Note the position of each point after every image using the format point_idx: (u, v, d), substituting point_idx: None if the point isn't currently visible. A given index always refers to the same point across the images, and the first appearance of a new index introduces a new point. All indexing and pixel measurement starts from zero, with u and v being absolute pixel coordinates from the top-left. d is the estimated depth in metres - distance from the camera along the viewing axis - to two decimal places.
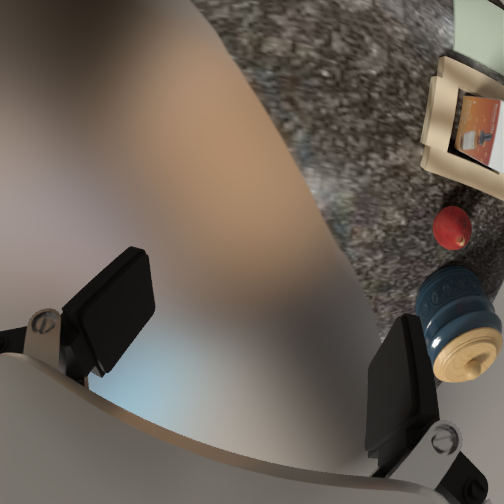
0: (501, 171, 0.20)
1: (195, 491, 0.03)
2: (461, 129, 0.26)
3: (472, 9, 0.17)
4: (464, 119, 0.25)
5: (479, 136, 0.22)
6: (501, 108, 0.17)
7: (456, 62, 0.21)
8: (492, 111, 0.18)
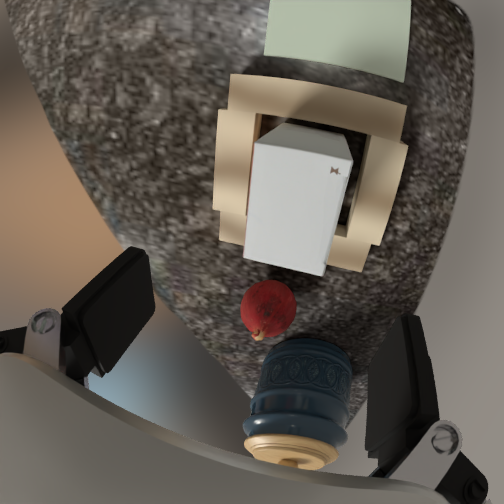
0: (273, 263, 0.19)
1: (195, 491, 0.03)
2: None
3: None
4: None
5: None
6: (254, 158, 0.15)
7: (251, 77, 0.20)
8: None
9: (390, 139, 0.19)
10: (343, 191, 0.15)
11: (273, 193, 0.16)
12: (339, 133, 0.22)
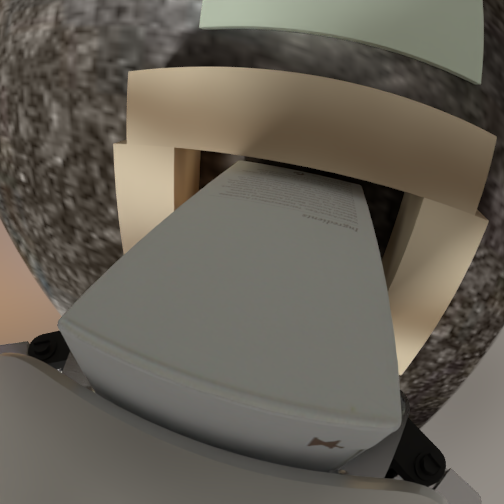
0: None
1: (195, 491, 0.03)
2: None
3: None
4: None
5: None
6: (77, 360, 0.04)
7: (162, 73, 0.09)
8: None
9: (459, 207, 0.08)
10: (344, 461, 0.04)
11: None
12: (352, 183, 0.11)
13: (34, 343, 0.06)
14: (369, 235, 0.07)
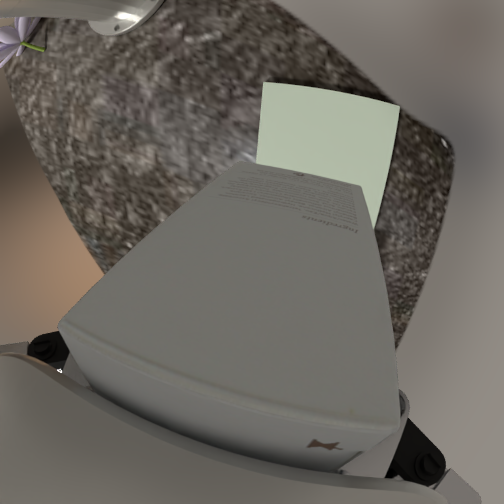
0: None
1: (195, 491, 0.03)
2: None
3: (292, 121, 0.23)
4: None
5: None
6: (77, 362, 0.04)
7: None
8: None
9: None
10: (343, 463, 0.04)
11: None
12: (352, 184, 0.11)
13: (34, 343, 0.06)
14: (369, 236, 0.07)
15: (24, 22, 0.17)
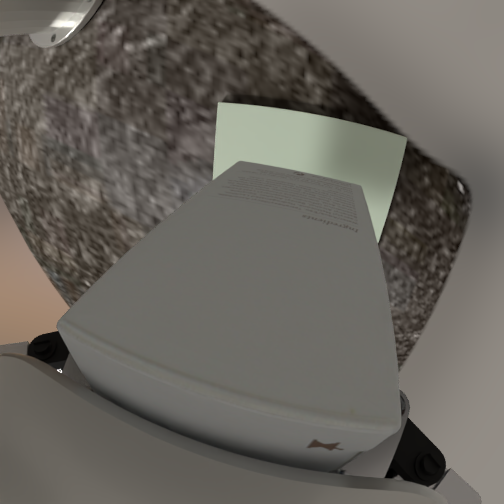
0: None
1: (195, 491, 0.03)
2: None
3: (256, 157, 0.18)
4: None
5: None
6: (76, 361, 0.04)
7: None
8: None
9: None
10: (344, 463, 0.04)
11: None
12: (352, 183, 0.11)
13: (34, 343, 0.06)
14: (369, 236, 0.07)
15: None
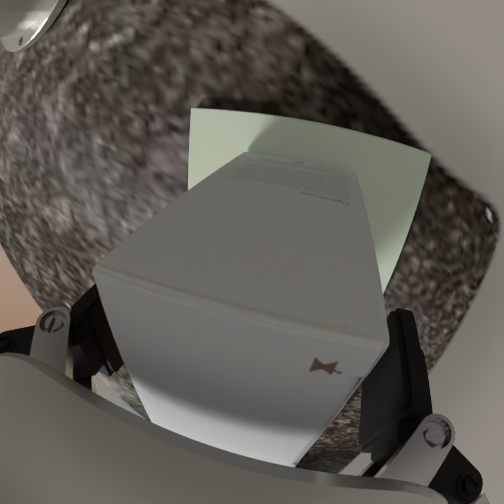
0: None
1: (195, 491, 0.03)
2: None
3: None
4: None
5: None
6: (105, 307, 0.05)
7: None
8: None
9: None
10: (344, 399, 0.05)
11: (168, 380, 0.06)
12: (347, 170, 0.12)
13: None
14: (360, 208, 0.08)
15: None
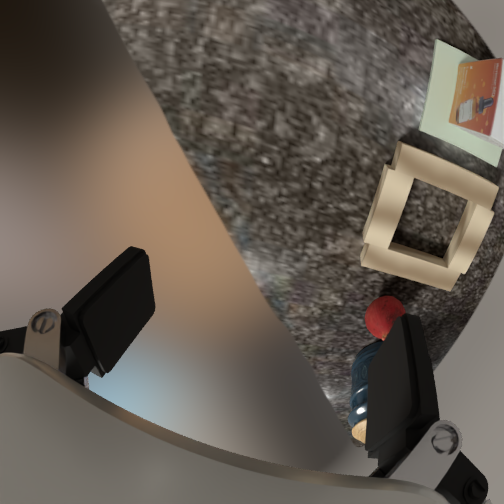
0: None
1: (195, 491, 0.03)
2: (456, 100, 0.21)
3: (455, 73, 0.20)
4: (460, 88, 0.20)
5: (478, 103, 0.17)
6: (503, 67, 0.12)
7: (416, 150, 0.25)
8: (492, 72, 0.13)
9: (486, 207, 0.25)
10: None
11: None
12: None
13: None
14: None
15: None
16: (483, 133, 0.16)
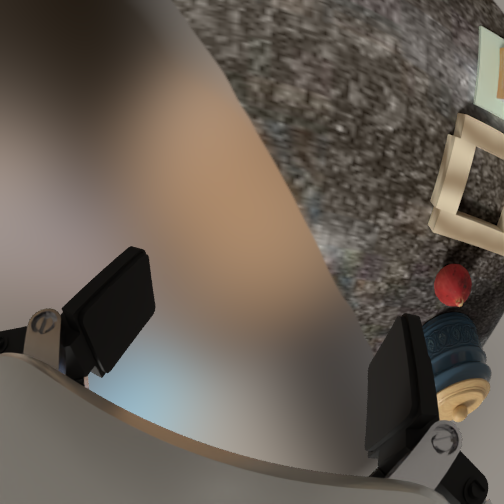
0: None
1: (195, 491, 0.03)
2: (502, 79, 0.18)
3: (497, 56, 0.18)
4: None
5: None
6: None
7: (476, 121, 0.22)
8: None
9: None
10: None
11: None
12: None
13: None
14: None
15: None
16: None
